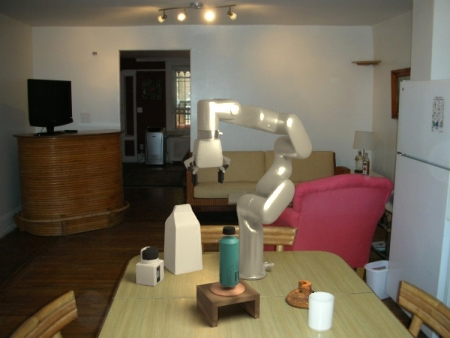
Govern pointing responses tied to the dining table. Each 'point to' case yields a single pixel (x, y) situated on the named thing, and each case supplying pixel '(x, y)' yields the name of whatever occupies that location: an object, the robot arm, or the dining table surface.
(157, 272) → the container
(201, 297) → the wooden u-channel bracket
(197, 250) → the milk
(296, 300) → the candle holder
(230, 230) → the beverage bottle
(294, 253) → the dining table surface
